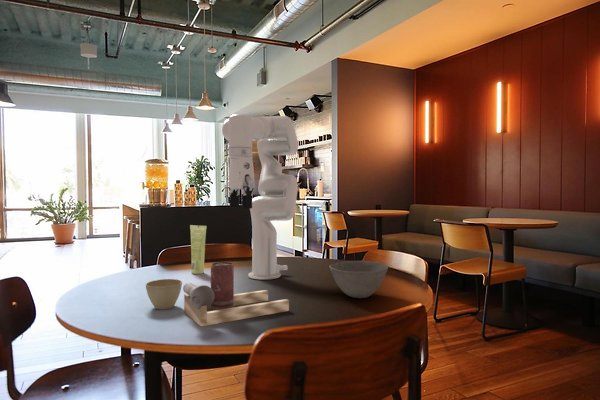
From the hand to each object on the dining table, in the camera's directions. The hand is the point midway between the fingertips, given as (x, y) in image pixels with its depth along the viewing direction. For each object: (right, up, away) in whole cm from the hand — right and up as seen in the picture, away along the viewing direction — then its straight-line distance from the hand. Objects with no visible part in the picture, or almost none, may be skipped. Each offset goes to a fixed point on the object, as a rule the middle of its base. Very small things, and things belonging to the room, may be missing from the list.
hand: (240, 207), depth 131 cm
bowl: (+38, -29, +1) cm, 47 cm away
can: (-2, -29, -19) cm, 35 cm away
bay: (+1, -29, -18) cm, 34 cm away
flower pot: (-20, -29, -12) cm, 37 cm away
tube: (-22, -28, +36) cm, 51 cm away
